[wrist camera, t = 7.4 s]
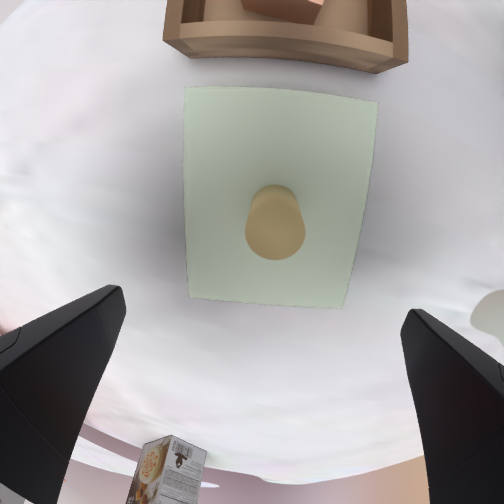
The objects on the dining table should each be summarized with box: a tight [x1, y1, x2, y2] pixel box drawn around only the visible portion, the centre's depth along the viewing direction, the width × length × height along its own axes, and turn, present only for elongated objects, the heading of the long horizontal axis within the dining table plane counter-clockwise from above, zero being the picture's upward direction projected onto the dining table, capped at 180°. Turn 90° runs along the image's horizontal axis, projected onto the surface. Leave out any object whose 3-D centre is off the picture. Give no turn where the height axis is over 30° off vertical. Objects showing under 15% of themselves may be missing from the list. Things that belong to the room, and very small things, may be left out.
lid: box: [183, 86, 378, 309], centre depth 16 cm, size 11×14×5 cm
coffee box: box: [126, 435, 206, 504], centre depth 27 cm, size 9×6×16 cm
